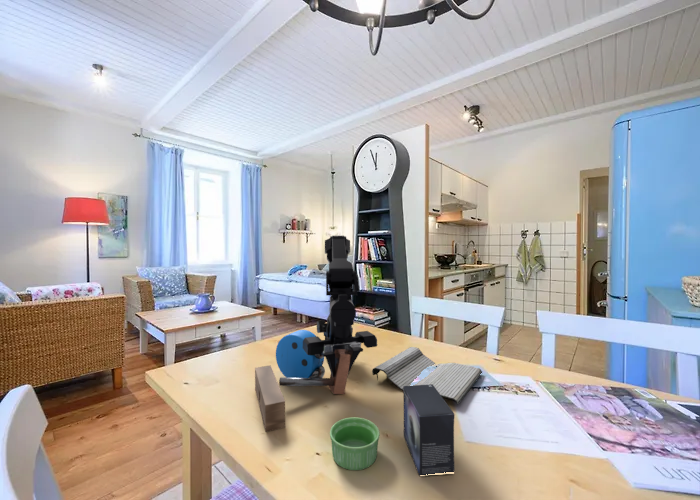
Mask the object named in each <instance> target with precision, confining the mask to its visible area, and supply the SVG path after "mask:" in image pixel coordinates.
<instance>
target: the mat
mask: <svg viewBox="0 0 700 500" xmlns="http://www.w3.org/2000/svg"><path fill="white" fill-rule="evenodd" d="M434 364H435V365H436V362H434V361H433V360H432V359H431V358H429V357H428V356H427V355H425V354H424V353H423V352H422V351H421V349H420V348H419V347H415V346H409V347H408V348H406V349H405V350H403V351H401V352H399V353H398V354H396V355H394V356H393V357H391V358H389V359H388V360H385V361H384V362H382V363H380V364H378V365H377V366H375V367H373V368H372V371H371V372H372V373H371V374H372V375H373V376H376V381H377V382H379V373H380V372H383V373H384V374H385V376H386V377H387V379H388V380H390V382H391V383H393V384H394V385H395V386H397V388H398V389H401V390H402V391H403V386H410V385H411V383H412V382H413V381H414V379H416V378H417V376H419V375H420V374H421V372H422V371H423V370H424V369H426V368H427V367H429V366H432V365H434ZM435 365H434V366H435ZM437 365H438V367H437V368H436V369H435V370H434V371H433V372H431V373H430V374H429V375H428V376H427V377H425V378H424V379H422V380H421V381H419V382H418V383H417V384H415V385H430V384H433V386H434V387H435V388H436V390H437V391H438V392H439V394H440V395H441V396H442V398H446V399H449V400H451V401H455V403H456V404H457V405H459V404H460V403H461V401H462V400H463V399H464V398H465V396H467V394H468V393H469V391H470V390H471V389H472V387H473V386H474V385H473V384H475V383H476V382H477V381H478V380H479V378H480V377H481V376H480V374H481V373H482V372H483V371H482V369H480V368H479V367H475V366H470V365H466V364H461V363H456V362H448V363H438V364H437ZM482 374H483V373H482ZM479 376H480V377H479ZM478 377H479V378H478ZM477 379H478V380H477ZM476 380H477V381H476Z"/></svg>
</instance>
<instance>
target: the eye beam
mask: <svg viewBox="0 0 700 500" xmlns="http://www.w3.org/2000/svg"><path fill="white" fill-rule="evenodd" d="M278 382H279V381H277V378H276V375H275V373H274V370H273V367H272V366H271V365H265V366H258V367H257V366H256V367H254V389H255V393H256V398H257V402H258V406H259V407H258V408H259V410H260V415H261V418H262V419H261V420H262V424H263V427H264V431H265V433H268V432H271V431H276V430H281V429H284V428H286V400H285V398H284V394H283V392H282V390H281V387H280V385H279V383H278Z"/></svg>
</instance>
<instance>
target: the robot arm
mask: <svg viewBox="0 0 700 500" xmlns="http://www.w3.org/2000/svg"><path fill="white" fill-rule="evenodd" d="M329 237H330V238H327V239H324V254H325V255H326V260H327V263H328V270H326V271H325V282H326V283H325V289H326V291H325V294H326V296H329V314H328V316H327V318H326V321H325V320H317V321H316V332H317V334H319V333H322V334H323V336H324V339H321V338H320V336H318V335H316V337H307V338H305V339H304V340H303V349H304V351H305V352H306V353H307V355H318V354H322V355H323V356H324V358H325V360H326V362H327V365H328V368H329V370H330V375H331V374H332V376H333V377H335V353H334V352H335V349H345V350H347V351H348V352H349V353H350V354H351V359H350V365H349V371H348V375H349V374H350V372H351V369H352V368H353V365H354V364H355V361H356V360H357V358H358V356H359V355H360V354H361V352H364V349H363V348H362V344H363V345H364V347H366V348H367V349H369V348H376V347H377V346H378V338H377V336H376V334H374V333H372V332H370V331H368V330H363V331H355V334H354V336H353V333H354V332H353V326H354V324H355V323H354V320H355V318H356V315H357V314H356V313H357V310H356V307H355V305H354V303H353V297H352V296H358V292H359V291H360V284H359V283H360V282H359V275H358V274H357V270H354V266H353V263H352V262H350V261H349V260H348V258H349V254H350V253H351V240H350V239H348V238H347V236H346V235H331V236H329Z"/></svg>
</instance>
